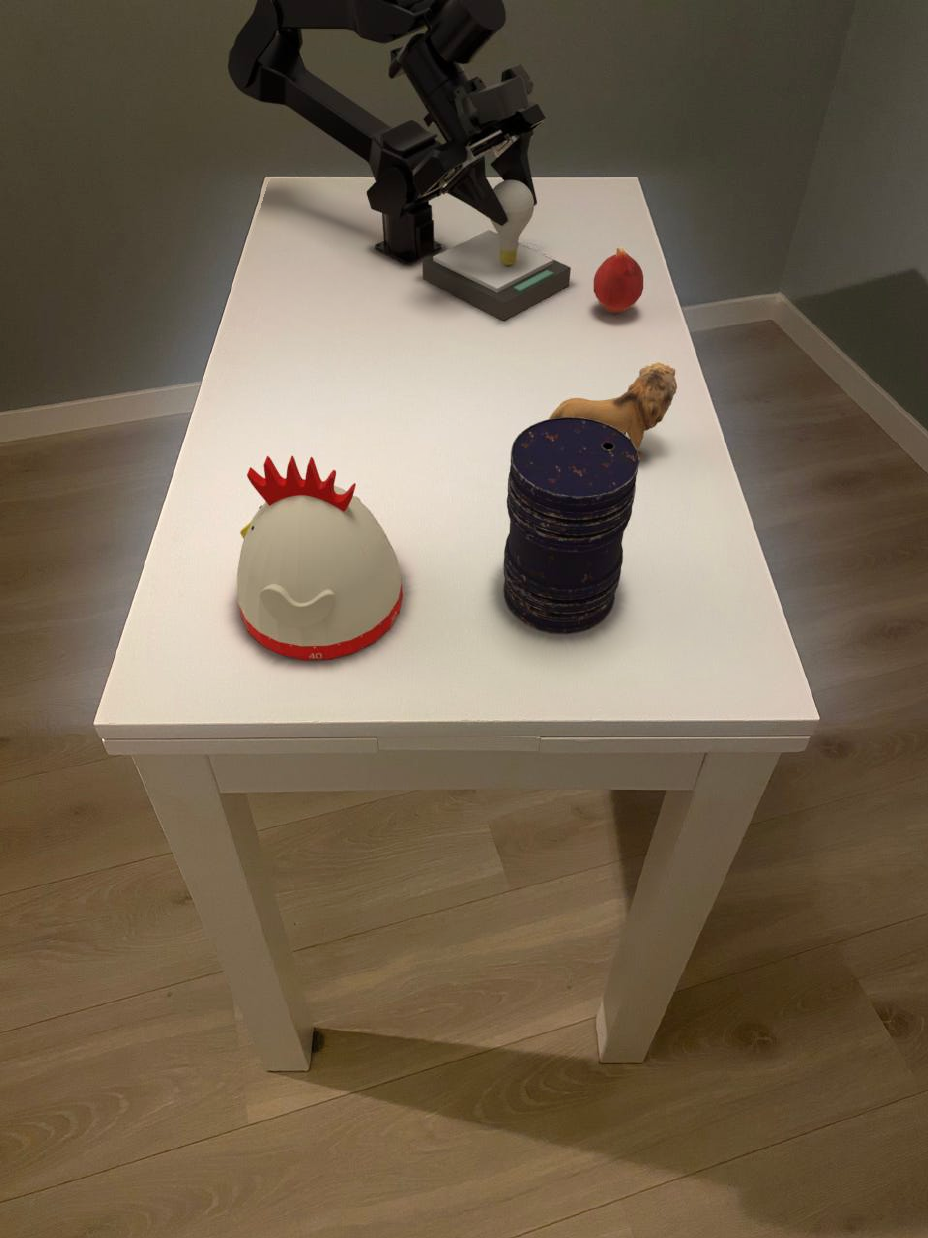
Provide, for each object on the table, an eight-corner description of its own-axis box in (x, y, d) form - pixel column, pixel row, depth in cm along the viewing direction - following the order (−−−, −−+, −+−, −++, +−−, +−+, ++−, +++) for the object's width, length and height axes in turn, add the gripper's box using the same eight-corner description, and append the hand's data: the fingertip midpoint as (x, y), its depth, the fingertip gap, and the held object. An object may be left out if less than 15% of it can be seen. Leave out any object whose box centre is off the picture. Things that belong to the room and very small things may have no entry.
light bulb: (516, 250, 116) (520, 167, 109) (538, 269, 113) (544, 186, 106) (477, 259, 115) (479, 176, 107) (498, 279, 112) (502, 195, 104)
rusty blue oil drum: (532, 649, 77) (545, 512, 66) (483, 571, 83) (487, 434, 72) (637, 614, 80) (666, 477, 68) (582, 541, 86) (601, 404, 74)
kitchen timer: (263, 537, 86) (234, 399, 75) (412, 548, 85) (405, 410, 74) (222, 652, 76) (181, 515, 65) (388, 666, 76) (376, 529, 64)
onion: (638, 301, 114) (648, 237, 108) (639, 326, 110) (649, 261, 104) (590, 298, 115) (597, 235, 109) (590, 323, 111) (597, 258, 105)
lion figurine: (650, 424, 97) (665, 348, 91) (675, 454, 94) (692, 377, 87) (520, 453, 94) (525, 377, 87) (541, 486, 91) (548, 408, 84)
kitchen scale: (422, 279, 118) (422, 256, 115) (488, 247, 123) (489, 225, 121) (503, 321, 111) (504, 297, 109) (569, 285, 117) (571, 262, 114)
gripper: (430, 67, 93) (514, 208, 97) (537, 21, 103) (610, 151, 107) (376, 130, 102) (455, 257, 106) (479, 82, 112) (548, 200, 116)
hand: (519, 214), depth 109 cm, fingers closed on light bulb, 5 cm apart
